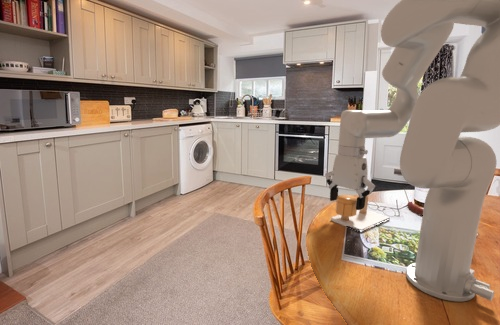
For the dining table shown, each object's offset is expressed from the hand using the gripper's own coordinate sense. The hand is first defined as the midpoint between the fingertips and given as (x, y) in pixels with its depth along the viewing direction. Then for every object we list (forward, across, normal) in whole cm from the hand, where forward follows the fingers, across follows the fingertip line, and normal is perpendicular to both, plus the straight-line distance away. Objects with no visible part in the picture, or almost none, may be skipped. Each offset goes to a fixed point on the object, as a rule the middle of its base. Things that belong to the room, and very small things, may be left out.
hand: (346, 204), depth 93 cm
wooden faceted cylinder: (+3, 0, 0) cm, 3 cm away
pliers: (+7, -13, -28) cm, 31 cm away
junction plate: (+6, -2, -6) cm, 8 cm away
